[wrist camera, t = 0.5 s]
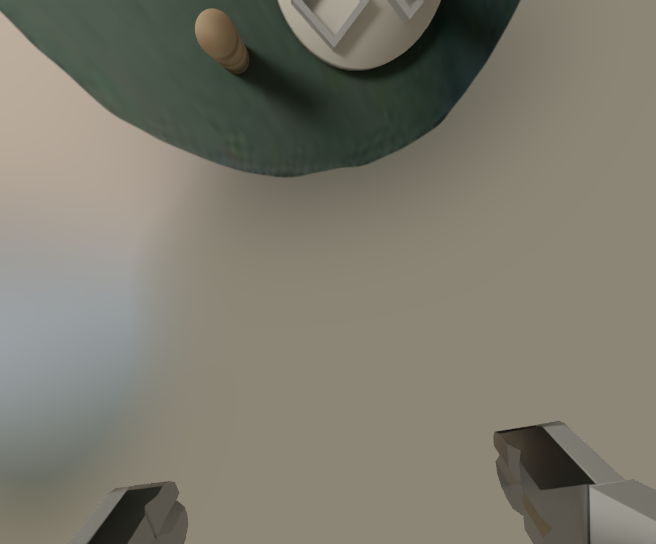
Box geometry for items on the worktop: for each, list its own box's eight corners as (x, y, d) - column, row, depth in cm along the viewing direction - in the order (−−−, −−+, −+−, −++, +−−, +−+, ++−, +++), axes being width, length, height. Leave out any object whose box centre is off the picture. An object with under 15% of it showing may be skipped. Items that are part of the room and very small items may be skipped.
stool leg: (214, 58, 43) (187, 34, 31) (230, 32, 42) (209, -3, 30) (238, 80, 44) (221, 66, 32) (255, 56, 43) (243, 32, 31)
